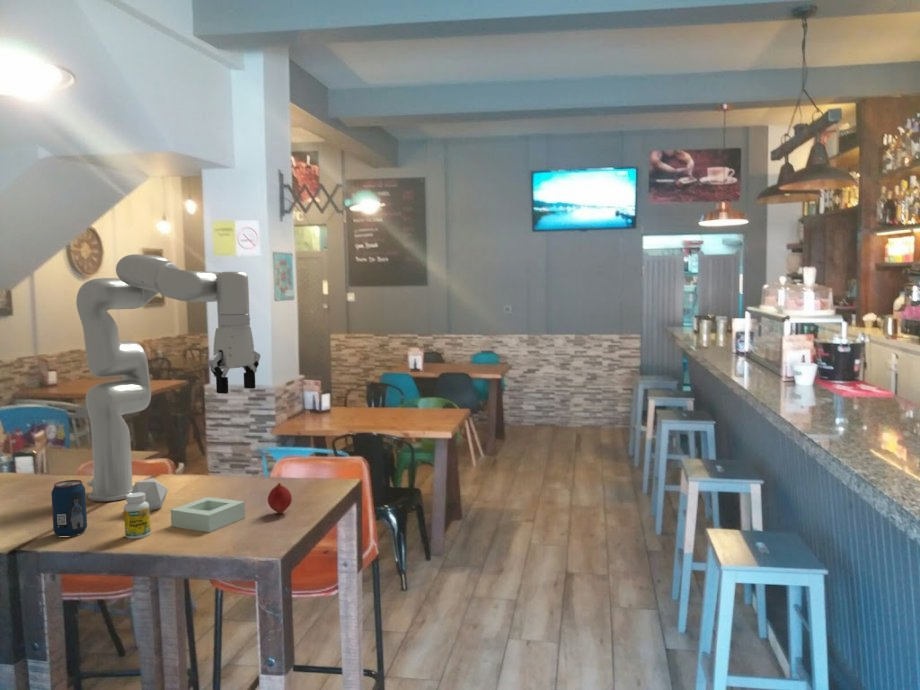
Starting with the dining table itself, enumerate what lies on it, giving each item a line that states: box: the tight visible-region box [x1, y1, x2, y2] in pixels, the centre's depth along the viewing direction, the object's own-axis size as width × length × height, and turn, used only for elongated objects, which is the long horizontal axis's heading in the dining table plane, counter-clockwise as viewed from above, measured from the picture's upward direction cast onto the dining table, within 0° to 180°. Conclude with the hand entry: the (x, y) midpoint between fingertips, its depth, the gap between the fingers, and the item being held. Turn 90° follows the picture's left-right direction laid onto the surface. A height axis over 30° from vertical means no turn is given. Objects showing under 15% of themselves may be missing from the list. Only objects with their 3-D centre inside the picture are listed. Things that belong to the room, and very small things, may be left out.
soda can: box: [51, 479, 88, 537], centre depth 169 cm, size 7×7×12 cm
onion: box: [267, 482, 293, 515], centre depth 183 cm, size 6×6×8 cm
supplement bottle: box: [123, 492, 151, 540], centre depth 167 cm, size 5×5×10 cm
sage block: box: [170, 496, 246, 533], centre depth 177 cm, size 12×12×4 cm
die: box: [132, 477, 169, 512], centre depth 188 cm, size 8×9×10 cm
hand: (236, 390), depth 181 cm, fingers open, 9 cm apart
